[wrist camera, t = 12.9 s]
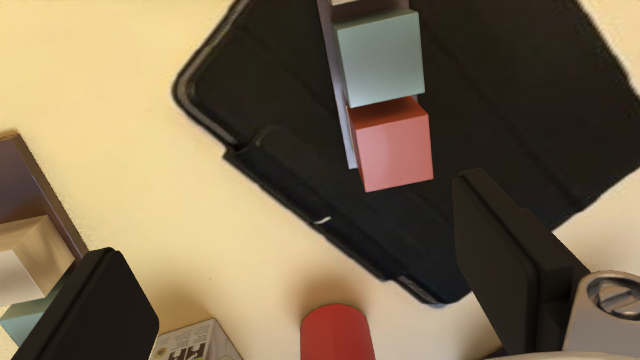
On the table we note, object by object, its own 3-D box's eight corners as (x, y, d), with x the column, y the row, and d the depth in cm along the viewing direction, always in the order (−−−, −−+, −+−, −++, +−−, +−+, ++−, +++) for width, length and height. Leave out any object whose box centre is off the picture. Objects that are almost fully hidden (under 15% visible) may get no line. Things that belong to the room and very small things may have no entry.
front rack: (298, -89, 23) (299, -105, 19) (394, -112, 23) (419, -133, 18) (347, 164, 31) (356, 199, 26) (419, 149, 31) (441, 181, 26)
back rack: (-55, 149, 29) (-125, 185, 24) (19, 133, 28) (-37, 166, 24) (61, 314, 36) (25, 366, 32) (119, 302, 36) (93, 353, 31)
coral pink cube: (346, 107, 28) (354, 129, 24) (409, 94, 28) (428, 114, 24) (356, 163, 30) (365, 192, 26) (415, 151, 30) (433, 178, 26)
